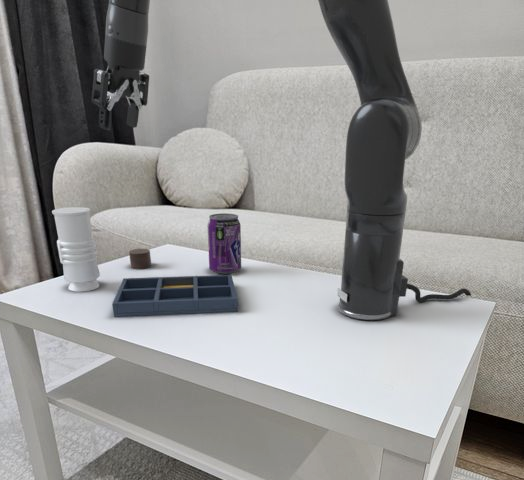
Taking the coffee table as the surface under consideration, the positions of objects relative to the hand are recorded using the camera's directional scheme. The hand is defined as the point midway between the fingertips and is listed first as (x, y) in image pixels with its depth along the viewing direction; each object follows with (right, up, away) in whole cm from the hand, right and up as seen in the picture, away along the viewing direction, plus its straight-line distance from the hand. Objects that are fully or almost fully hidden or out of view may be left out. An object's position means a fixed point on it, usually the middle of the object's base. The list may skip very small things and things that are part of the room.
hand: (118, 127), depth 98 cm
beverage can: (+21, -29, +8) cm, 37 cm away
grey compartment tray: (+14, -37, -10) cm, 40 cm away
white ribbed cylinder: (-6, -34, -3) cm, 34 cm away
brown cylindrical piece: (+2, -27, +11) cm, 29 cm away
